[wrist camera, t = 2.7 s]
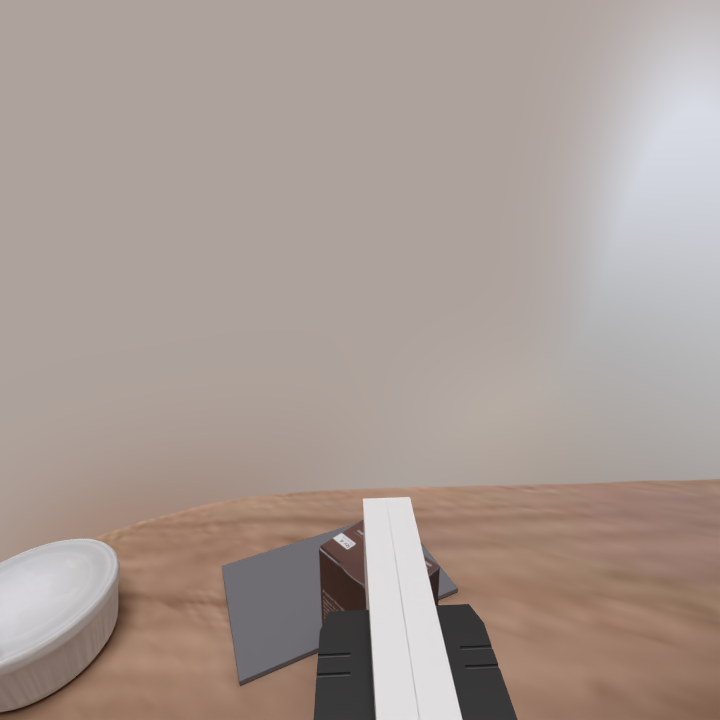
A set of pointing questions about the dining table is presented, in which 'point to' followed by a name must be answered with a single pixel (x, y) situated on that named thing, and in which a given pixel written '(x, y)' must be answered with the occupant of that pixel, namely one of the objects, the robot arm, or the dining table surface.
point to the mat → (282, 605)
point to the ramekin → (54, 616)
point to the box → (352, 572)
